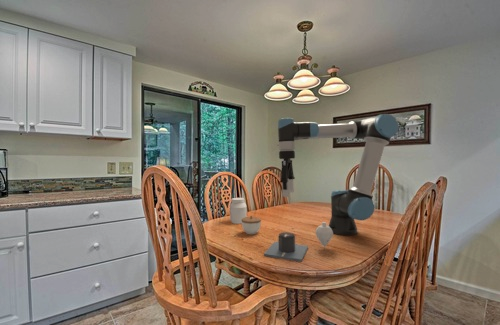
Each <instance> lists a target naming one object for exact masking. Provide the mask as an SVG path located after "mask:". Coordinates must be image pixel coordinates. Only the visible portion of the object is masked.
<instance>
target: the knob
mask: <svg viewBox="0 0 500 325" xmlns="http://www.w3.org/2000/svg"><path fill="white" fill-rule="evenodd" d="M278 242H279V250H280V251H281V252H285V253H291V252H294V251H295V244H296V234H294V233H292V232H285V231H284V232H280V233H279V234H278Z"/></svg>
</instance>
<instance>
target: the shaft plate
mask: <svg viewBox="0 0 500 325" xmlns="http://www.w3.org/2000/svg"><path fill="white" fill-rule="evenodd" d="M308 249H309V246H308V245H304V244H296V243H295V251H294V252H291V253H285V252H281V251H280V250H279V241H274V242H272V243H271V245H270V246H268V248H267V250H265V252H264V253H263V257H268V258H275V259H281V260H285V261H293V262H300V263H301V262H303V260H304V258H305V256H306V254H307V251H308Z"/></svg>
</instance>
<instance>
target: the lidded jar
mask: <svg viewBox="0 0 500 325" xmlns="http://www.w3.org/2000/svg"><path fill="white" fill-rule="evenodd" d="M261 222H262V219H261V217H259V216H253V215H250V216H247V217H245V218H242V224H241V225H242V226H241V227H242V229H243V231H244V232H245V233H246V234H247V235H256V234H258V232H259V231H260V229H261Z"/></svg>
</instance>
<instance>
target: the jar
mask: <svg viewBox="0 0 500 325" xmlns="http://www.w3.org/2000/svg"><path fill="white" fill-rule="evenodd" d="M247 207H248V206H247V204H246V202H245V198H244V197H234V198H233V197H232V198H231V203H230V204H229V212H230V213H229V217H230V218H229V221H230V222H231V223H232V224H233V225H242V218H245V217H248V216H247Z"/></svg>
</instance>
